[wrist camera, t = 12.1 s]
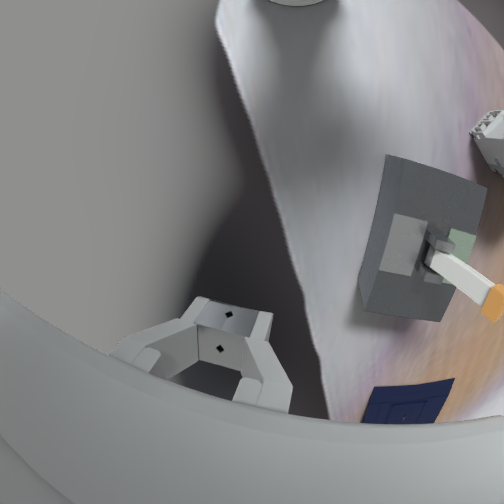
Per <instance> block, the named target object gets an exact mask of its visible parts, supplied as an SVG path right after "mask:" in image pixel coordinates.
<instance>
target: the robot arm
mask: <svg viewBox="0 0 504 504" xmlns="http://www.w3.org/2000/svg"><path fill="white" fill-rule="evenodd" d="M270 1H272V2H275V3H278V4H282V5H288V6H305V5H311V4H315V3H318V2H321V1H323V0H270ZM272 319H273V313H269V312H263V311H256V310H251V309H247V308H242V307H238V306H234V305H230V304H227V303H223V302H219V301H215V300H210V299H207V298H203V297H197V298H196V299H195V300H194V301H193V303H192V304H191V305H190V307H189V308H188V309H187V311H186V312H185V313H184V315H183V316H182V317H181V319H173V320H171V321H168V322H165V323H163V324H160V325H157V326H154V327H151V328H149V329H146V330H143V331H140V332H137V333H134V334H132V335H129V336H125V337H124V338H123V340H122V341H121V342H120V343H119V344H118V345H117V346H116V347H115V348H114V350H113V351H112V352H111V353H110V354H109V355H107V354H105V353H103V352H101V351H98V350H97V349H95V348H93V347H91V346H89V345H87V344H85V343H84V342H82V341H80V340H78V339H76V338H74V337H73V336H71V335H69V334H68V333H66V332H64V331H62V330H61V329H59V328H57V327H56V326H54V325H53V324H51V323H49V322H48V321H46V320H45V319H43V318H42V317H40V316H38V315H37V314H35V313H34V312H32V311H31V310H30V309H28V308H27V307H25V306H24V305H22V304H21V303H20V302H18V301H17V300H15V299H14V298H13V297H11V296H10V295H9V294H7V293H6V292H5V291H4V290H2V289H1V288H0V504H504V416H502V415H496V416H490V417H485V418H479V419H472V420H464V421H456V422H445V423H431V424H368V423H353V422H342V421H332V420H324V419H316V418H309V417H303V416H296V415H291V414H288V410H289V405H290V400H291V395H292V389H293V386H292V384H291V382H290V380H289V379H288V377H287V375H286V373H285V371H284V370H283V368H282V366H281V364H280V362H279V361H278V359H277V357H276V355H275V353H274V351H273V349H272V347H271V346H270V344H269V342H268V340H269V335H270V330H271V325H272ZM198 360H202V361H206V362H210V363H213V364H217V365H221V366H224V367H228V368H231V369H234V370H238V371H241V374H242V379H241V380H240V382H239V385H238V387H237V390H236V393H235V395H234V397H233V400H232V401H229V400H225V399H222V398H218V397H214V396H211V395H208V394H205V393H202V392H199V391H196V390H193V389H190V388H187V387H183V386H181V385H178V384H175V383H172V382H169V381H167V379H169V378H170V377H172V376H174V375H175V374H177V373H179V372H181V371H182V370H184V369H186V368H187V367H189V366H191V365H192V364H194V363H195V362H197V361H198Z"/></svg>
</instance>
